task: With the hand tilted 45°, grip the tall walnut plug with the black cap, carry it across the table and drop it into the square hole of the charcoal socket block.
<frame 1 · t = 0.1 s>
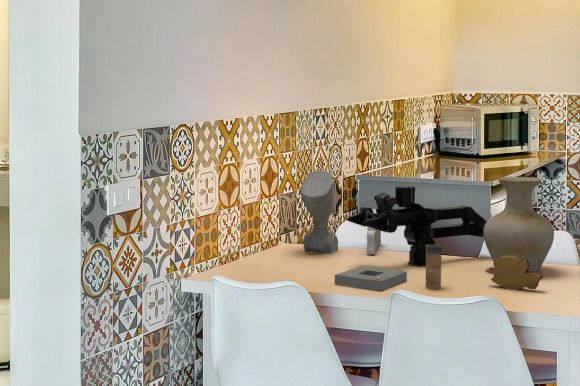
hand: (355, 221, 270), 17 cm above the table, tool horizontal, fingers open, 9 cm apart
vase: (517, 272, 270), on the table
socket: (371, 282, 256), on the table
plug: (433, 287, 249), on the table
decorative sign: (374, 250, 310), on the table
wooden carving: (513, 289, 247), on the table
sculpture: (319, 253, 305), on the table
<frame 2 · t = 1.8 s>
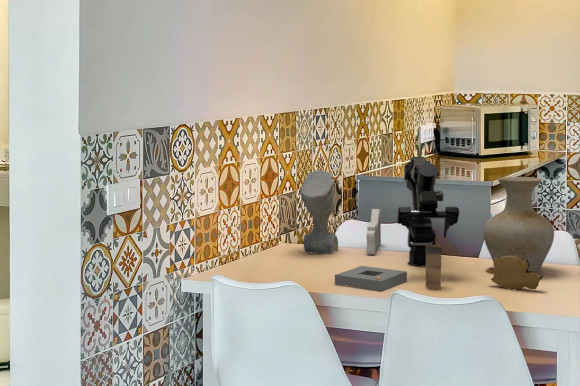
hand: (429, 237, 256), 14 cm above the table, tool tilted 45°, fingers open, 9 cm apart
nothing on the table moved.
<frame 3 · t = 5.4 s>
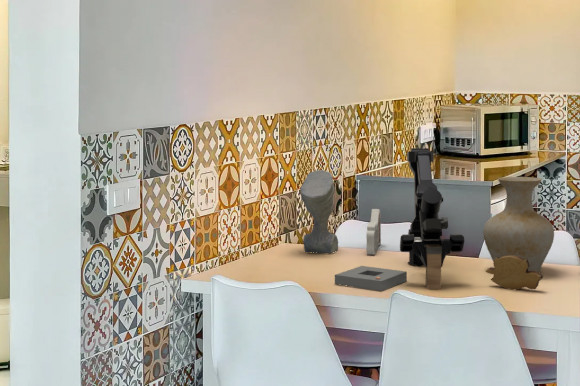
hand: (434, 266, 247), 7 cm above the table, tool tilted 45°, fingers closed on plug, 4 cm apart
plug: (433, 287, 249), on the table, touching gripper
everything else where it was.
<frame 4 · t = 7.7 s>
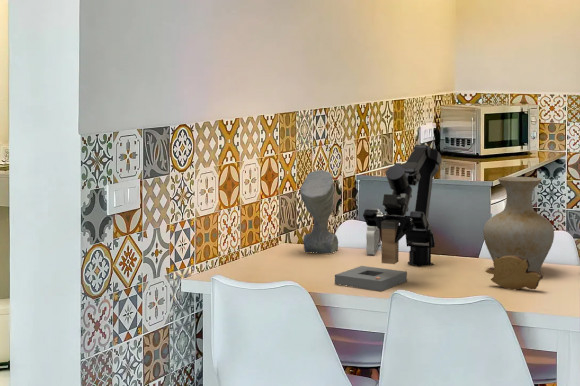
hand: (388, 241, 250), 13 cm above the table, tool tilted 45°, fingers closed on plug, 4 cm apart
plug: (390, 262, 252), point 7 cm above the table, touching gripper
everything else where it was.
when the fingers open (8 cm above the table, at t = 10.1 s): plug drops 2 cm, resting in socket.
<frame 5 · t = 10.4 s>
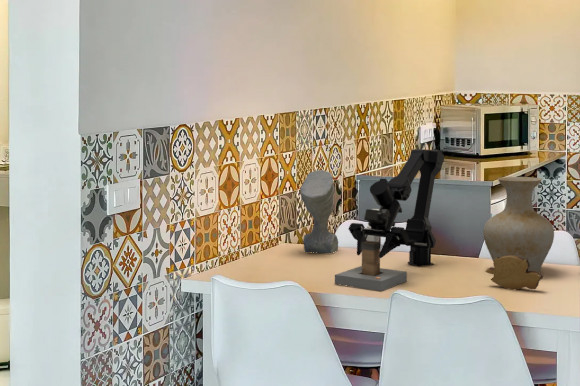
hand: (368, 255, 254), 9 cm above the table, tool tilted 45°, fingers open, 7 cm apart
plug: (370, 282, 256), resting in socket
everything else where it was.
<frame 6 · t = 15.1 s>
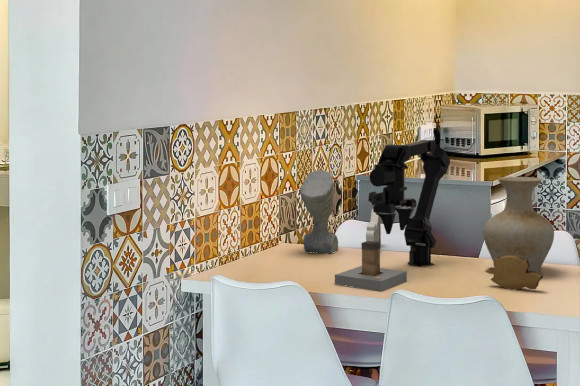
hand: (395, 232, 270), 13 cm above the table, tool pointing down, fingers open, 9 cm apart
nothing on the table moved.
at the end: plug 0.0 cm off-centre on the socket, point 0.0 cm above the socket's base; plug tilted 0°; the gripper is holding nothing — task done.
